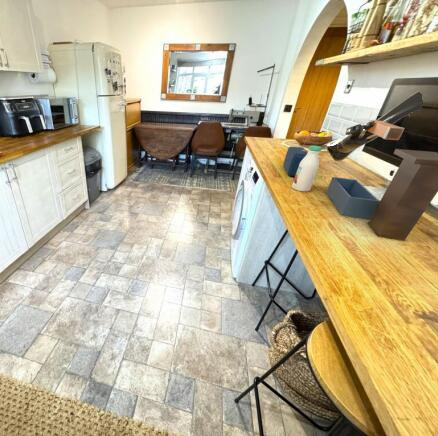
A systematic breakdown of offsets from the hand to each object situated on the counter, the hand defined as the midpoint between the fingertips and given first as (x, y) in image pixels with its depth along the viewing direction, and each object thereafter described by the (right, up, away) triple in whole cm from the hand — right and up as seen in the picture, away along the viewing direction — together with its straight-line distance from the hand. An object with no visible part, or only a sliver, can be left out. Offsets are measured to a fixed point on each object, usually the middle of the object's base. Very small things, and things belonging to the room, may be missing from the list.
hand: (380, 123), depth 87 cm
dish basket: (-2, -29, +13) cm, 32 cm away
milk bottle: (-12, -21, +27) cm, 36 cm away
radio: (-2, -9, +48) cm, 49 cm away
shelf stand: (-2, -38, -3) cm, 39 cm away
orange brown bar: (-1, -4, -1) cm, 5 cm away
